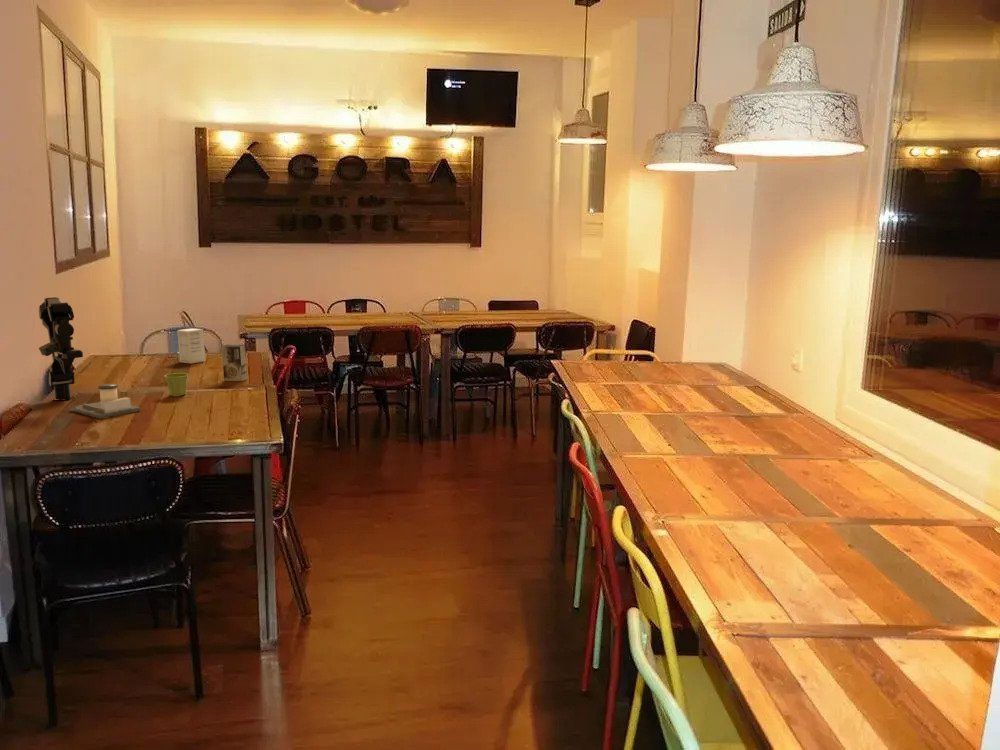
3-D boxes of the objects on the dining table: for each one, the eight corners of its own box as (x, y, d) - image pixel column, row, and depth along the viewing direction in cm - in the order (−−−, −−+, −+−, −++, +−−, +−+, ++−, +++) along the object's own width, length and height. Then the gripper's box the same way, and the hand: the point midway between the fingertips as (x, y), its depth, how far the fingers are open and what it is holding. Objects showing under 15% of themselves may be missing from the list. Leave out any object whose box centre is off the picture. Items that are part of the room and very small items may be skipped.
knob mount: (71, 410, 318) (69, 397, 317) (111, 403, 331) (109, 390, 330) (99, 419, 305) (98, 404, 304) (140, 411, 318) (139, 397, 317)
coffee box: (248, 378, 382) (246, 344, 378) (242, 381, 375) (240, 346, 372) (229, 378, 382) (227, 344, 379) (223, 381, 376) (221, 346, 373)
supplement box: (206, 361, 427) (203, 329, 424) (191, 363, 420) (188, 331, 416) (194, 359, 432) (191, 327, 429) (179, 362, 425) (176, 329, 421)
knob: (96, 408, 315) (94, 385, 313) (113, 404, 320) (111, 382, 319) (105, 410, 311) (103, 387, 309) (123, 407, 316) (121, 385, 315)
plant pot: (164, 398, 341) (163, 377, 339) (167, 393, 350) (165, 373, 348) (188, 396, 343) (187, 376, 342) (190, 392, 352) (189, 372, 351)
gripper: (29, 335, 320) (33, 374, 323) (52, 339, 309) (56, 379, 312) (58, 331, 329) (62, 370, 332) (81, 335, 318) (85, 375, 321)
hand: (66, 373), depth 324 cm, fingers closed
